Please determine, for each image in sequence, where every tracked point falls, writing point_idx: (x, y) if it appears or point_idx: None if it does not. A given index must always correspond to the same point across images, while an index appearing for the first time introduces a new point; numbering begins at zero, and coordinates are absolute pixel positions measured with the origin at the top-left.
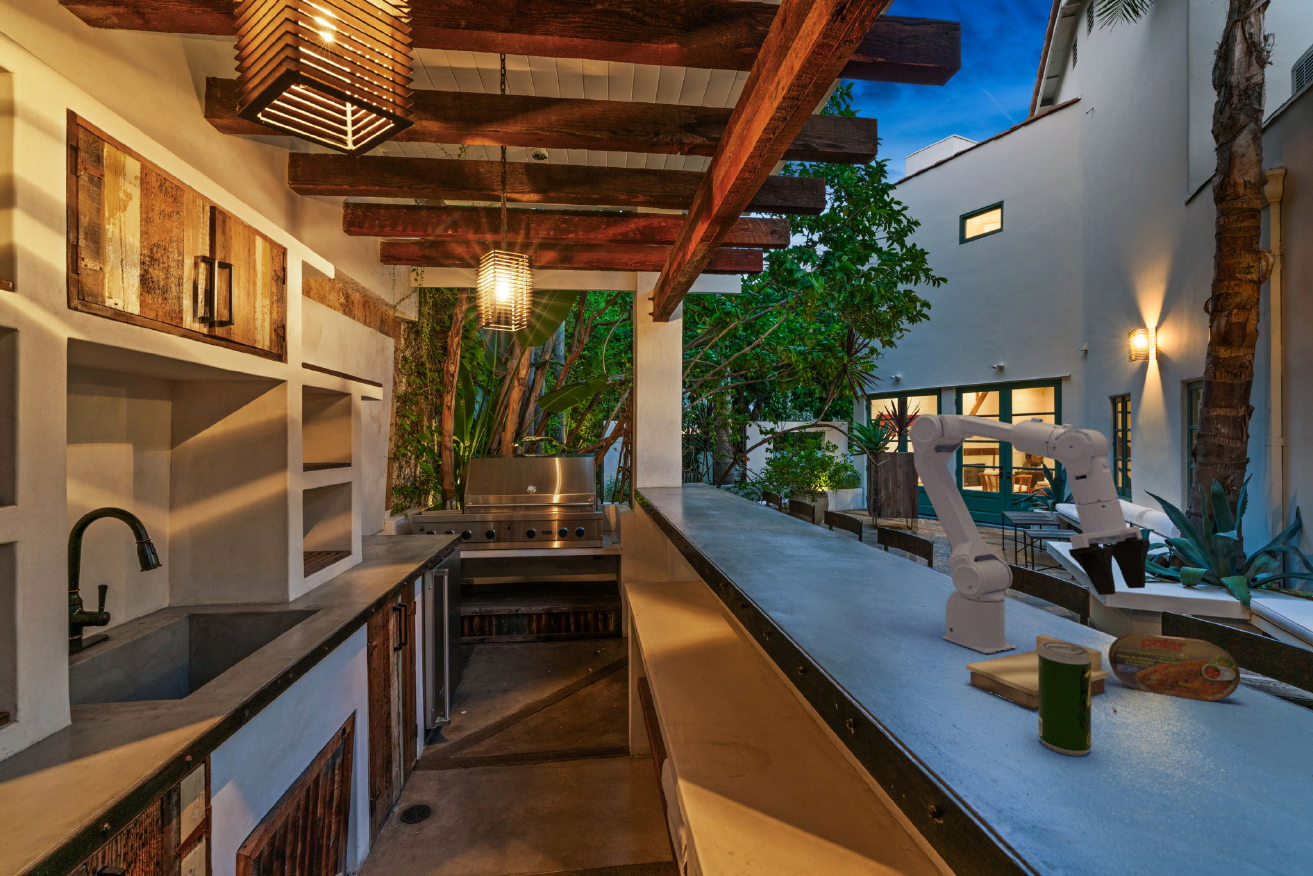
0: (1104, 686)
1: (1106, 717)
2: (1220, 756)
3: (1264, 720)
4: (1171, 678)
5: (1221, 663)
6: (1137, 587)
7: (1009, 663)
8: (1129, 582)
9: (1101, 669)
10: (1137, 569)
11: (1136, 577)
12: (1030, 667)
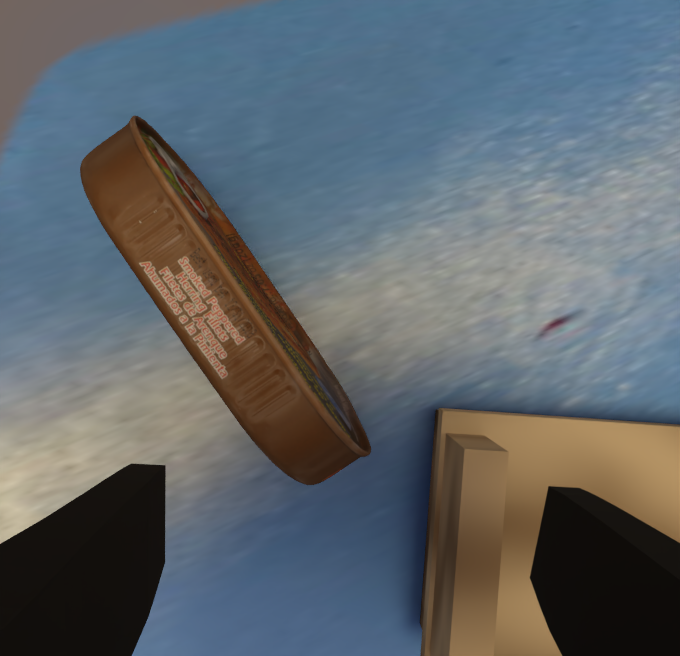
0: (438, 412)
1: (626, 311)
2: (617, 60)
3: (248, 83)
4: (262, 296)
5: (158, 160)
6: (160, 505)
7: None
8: (147, 581)
9: (447, 433)
10: (94, 579)
11: (131, 547)
12: None
